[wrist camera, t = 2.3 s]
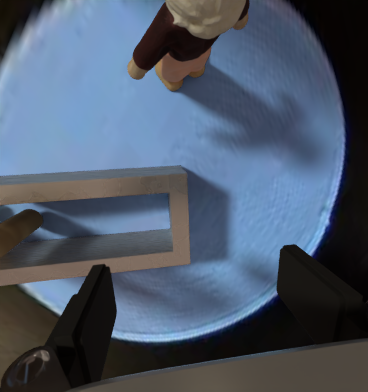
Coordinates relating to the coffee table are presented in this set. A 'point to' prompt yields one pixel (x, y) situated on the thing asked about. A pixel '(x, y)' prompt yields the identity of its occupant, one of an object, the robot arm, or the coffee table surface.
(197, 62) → the grandmother figurine
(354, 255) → the coffee table surface
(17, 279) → the steel C-link
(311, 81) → the coffee table surface
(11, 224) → the pin stand
